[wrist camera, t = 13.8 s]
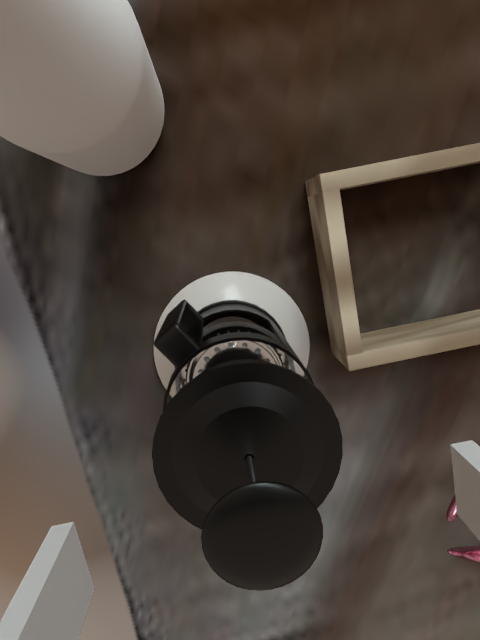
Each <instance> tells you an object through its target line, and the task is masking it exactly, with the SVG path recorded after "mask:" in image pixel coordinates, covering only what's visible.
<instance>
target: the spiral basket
mask: <svg viewBox="0 0 480 640" xmlns="http://www.w3.org/2000/svg"><path fill="white" fill-rule="evenodd" d="M457 515H458V514H457V508H456V498H455V495H454V497H453V499H452V501H451V503H450V505H449V507H448V510H447V520H448V521H452V520H454V519H455V517H456V516H457ZM447 552H448V554H450V555H452V556H454V557H458V558H462V559H466V560H470V561H474V562H477V563H480V546H463V547H454V548H450V549H448V550H447Z"/></svg>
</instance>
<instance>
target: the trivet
mask: <svg viewBox="0 0 480 640" xmlns="http://www.w3.org/2000/svg"><path fill="white" fill-rule="evenodd" d="M182 300H186V301H187V302H188V303H189V304H190V305H191V306H192V307H193V308H194V309H195V310H196V311H197V312H198V311H199V310H200V309H202V308H204V307H206V306H208V305H210V304H212V303H216V302H219V301H224V300H239V301H246V302H249V303H252V304H255V305H257V306H259V307H260V308H262V309H264V310H266V311H267V312H268V313H269V314H270V315H271V316H272V317H274V319H275V320H276V321H277V323H278V324H279V325H280V327H281V328H282V331H283V333H284V335H285V337H286V340H287V342H288V343H289V345H290V346H291V348H292V349H293V351H294V352H295V353H296V355H297V356H298V358H299V359H300V361H301V362H302V364H303V365H304V367H305V368H307V364H308V359H309V350H310V342H309V333H308V329H307V325H306V322H305V320H304V317H303V315H302V313H301V311H300V309H299V308H298V306H297V305H296V303H295V302H294V301H293V299H292V298H291V297H290V296H289V295H288V294H287V293H286V292H285V291H284V290H282V289H281V288H280V287H279V286H277V285H276V284H274V283H273V282H271V281H269V280H267V279H265V278H263V277H260V276H258V275H254V274H251V273H246V272H239V271H226V272H218V273H214V274H210V275H206V276H204V277H202V278H199V279H197V280H195V281H193V282H192V283H190V284H188V285H187V286H186V287H184V288H183V289H182V290H180V291H179V292H178V293H177V294H176V295H175V296H174V297H173V298H172V300H171V301H170V302H169V304H168V305H167V306H166V308H165V310H164V312H163V313H162V315H161V317H160V320H159V322H158V325H157V328H156V332H155V336H154V341H155V339H156V337H157V335H158V333H159V331H160V328H161V326H162V324H163V322H164V320H165V318H166V316H167V315H168V313H169V312H170V311H171V310H173V309H174V308H175V307H176V306H177V305H178V304H179V303H180V302H181V301H182ZM238 321H239V322H247V323H252V324H255V325H257V324H256V323H254V322H252V321H251V320H248V319H245V318H242V317H234V316H233V317H224V318H220V319H217V320H215V321H213V322H211V323H209V324H208V325H206V326H205V327H204V328H203V331H204V330H206V329H208V328H210V327H212V326H214V325H218V324H222V323H226V322H238ZM258 326H259V325H258ZM154 360H155V366H156V369H157V372H158V375H159V377H160V379H161V382H162V384H163V385H164V387H165V388H166V390H167V387H168V384H169V381H170V378H171V375H172V374H173V372H174V370H175V366H174V365H173V364H172V363H171V362H170V361H169V360H168V359H167V358H166V357H165V356H164V355H163V354H162V353H161V352H160V351H159V350H158V349H157V348H156V347H155V346H154ZM293 362H294V366H295V370H296V373H298V374H300V375H301V376H304V372H303V370H302V369H301V367H300V366H299V365H298V363H297V362H295V361H294V360H293ZM176 393H177V392H176V384H175V381H174V382H173V384H172V387H171V390H170V393H169V394H170V395H171V396H172V398H173V397H174V396H175V394H176Z"/></svg>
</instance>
